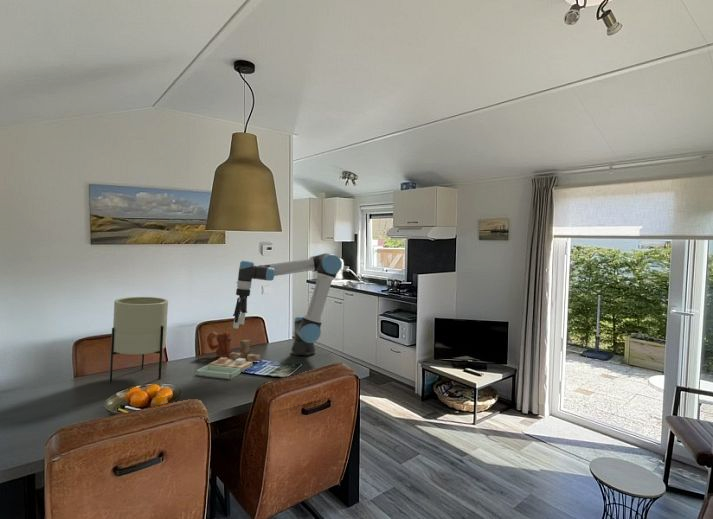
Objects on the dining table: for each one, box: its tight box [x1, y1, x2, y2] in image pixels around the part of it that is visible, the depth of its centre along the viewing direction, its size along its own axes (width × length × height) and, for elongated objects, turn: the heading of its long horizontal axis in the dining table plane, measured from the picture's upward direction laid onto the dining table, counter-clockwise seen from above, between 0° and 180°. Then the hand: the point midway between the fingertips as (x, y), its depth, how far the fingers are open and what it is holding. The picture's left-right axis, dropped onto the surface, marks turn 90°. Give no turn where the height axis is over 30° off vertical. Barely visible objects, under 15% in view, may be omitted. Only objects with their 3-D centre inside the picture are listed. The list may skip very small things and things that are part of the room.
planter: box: [108, 296, 169, 384], centre depth 197 cm, size 23×24×39 cm
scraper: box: [229, 339, 261, 362], centre depth 228 cm, size 18×4×12 cm, turn 75°
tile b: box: [217, 357, 229, 363], centre depth 216 cm, size 4×4×2 cm
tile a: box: [235, 358, 246, 364], centre depth 215 cm, size 4×4×2 cm
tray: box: [195, 364, 242, 380], centre depth 204 cm, size 20×10×3 cm, turn 75°
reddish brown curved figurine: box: [206, 330, 232, 358], centre depth 236 cm, size 15×8×15 cm, turn 84°
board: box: [208, 358, 254, 372], centre depth 215 cm, size 20×11×3 cm, turn 75°
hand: (238, 326), depth 221 cm, fingers open, 13 cm apart
